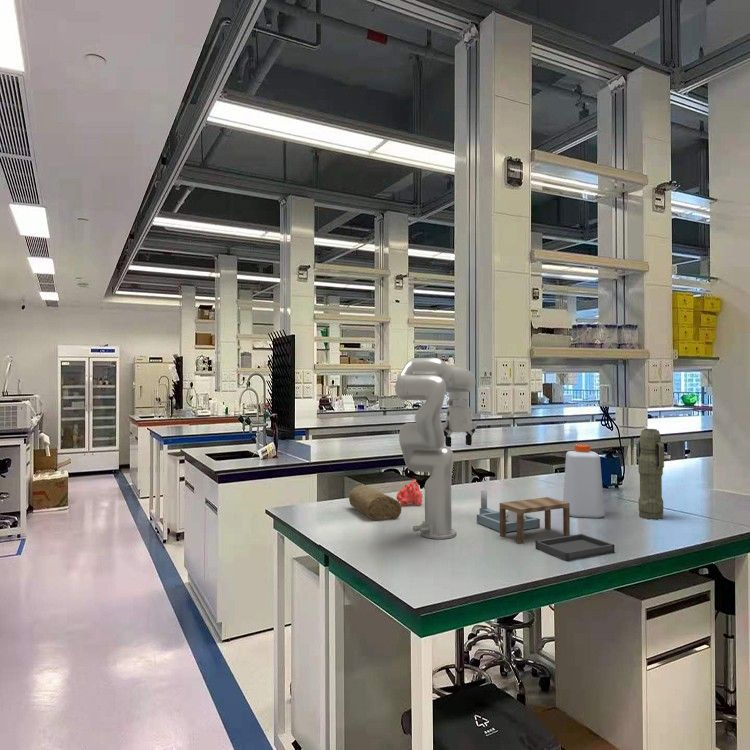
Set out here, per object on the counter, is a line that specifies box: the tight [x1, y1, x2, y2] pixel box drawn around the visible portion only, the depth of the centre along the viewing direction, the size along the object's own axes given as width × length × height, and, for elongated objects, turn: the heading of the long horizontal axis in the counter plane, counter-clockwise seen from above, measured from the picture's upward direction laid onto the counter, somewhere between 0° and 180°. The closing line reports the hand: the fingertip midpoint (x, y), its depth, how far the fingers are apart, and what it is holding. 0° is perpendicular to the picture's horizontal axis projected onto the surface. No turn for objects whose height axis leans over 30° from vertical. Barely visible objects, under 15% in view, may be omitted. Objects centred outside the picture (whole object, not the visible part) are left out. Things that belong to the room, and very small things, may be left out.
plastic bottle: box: [562, 444, 605, 519], centre depth 230 cm, size 15×15×28 cm
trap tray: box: [534, 533, 615, 562], centre depth 182 cm, size 20×14×2 cm
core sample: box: [348, 484, 402, 521], centre depth 232 cm, size 14×26×10 cm, turn 23°
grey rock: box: [506, 510, 526, 522], centre depth 209 cm, size 8×9×10 cm
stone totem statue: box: [636, 428, 665, 521], centre depth 224 cm, size 9×12×35 cm
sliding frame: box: [476, 490, 541, 533], centre depth 216 cm, size 24×17×10 cm
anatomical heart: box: [396, 479, 423, 507], centre depth 247 cm, size 9×12×12 cm
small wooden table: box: [499, 496, 571, 545], centre depth 199 cm, size 22×11×12 cm, turn 115°
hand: (458, 445), depth 228 cm, fingers open, 9 cm apart
